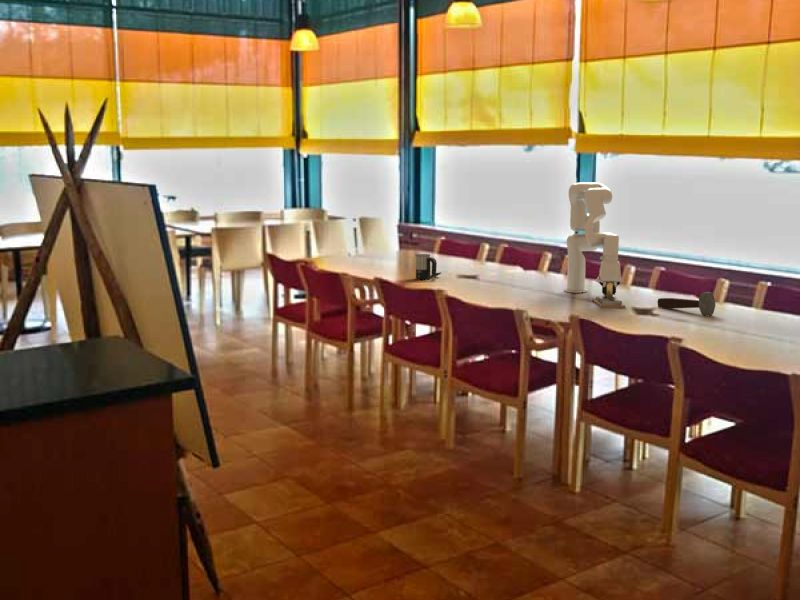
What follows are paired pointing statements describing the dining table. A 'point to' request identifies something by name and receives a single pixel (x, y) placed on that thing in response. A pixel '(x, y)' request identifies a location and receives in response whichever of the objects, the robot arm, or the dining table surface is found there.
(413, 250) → the dining table surface
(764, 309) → the dining table surface
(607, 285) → the pin
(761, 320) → the dining table surface
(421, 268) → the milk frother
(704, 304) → the hammer
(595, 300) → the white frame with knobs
